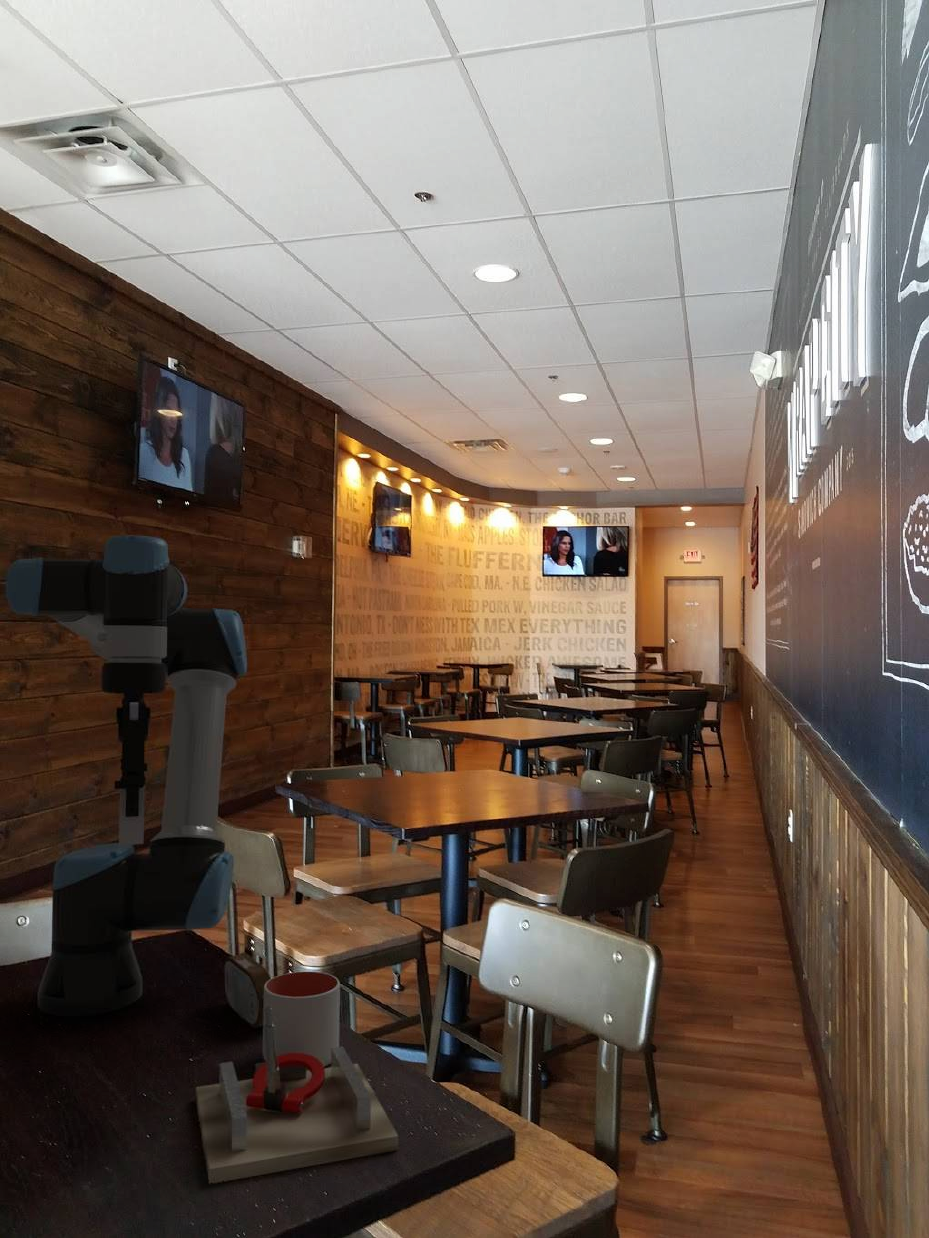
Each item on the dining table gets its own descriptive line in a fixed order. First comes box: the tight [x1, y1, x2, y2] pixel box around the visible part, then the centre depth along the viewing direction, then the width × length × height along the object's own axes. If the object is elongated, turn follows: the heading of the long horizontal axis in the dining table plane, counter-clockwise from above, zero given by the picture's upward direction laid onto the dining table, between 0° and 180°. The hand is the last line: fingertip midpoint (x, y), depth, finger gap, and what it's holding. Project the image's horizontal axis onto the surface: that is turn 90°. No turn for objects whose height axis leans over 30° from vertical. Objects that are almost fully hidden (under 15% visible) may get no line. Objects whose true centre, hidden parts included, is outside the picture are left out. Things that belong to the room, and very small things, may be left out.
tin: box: [223, 952, 272, 1029], centre depth 138 cm, size 15×3×8 cm, turn 34°
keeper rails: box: [218, 1045, 371, 1152], centre depth 108 cm, size 16×15×4 cm
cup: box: [262, 971, 341, 1071], centre depth 124 cm, size 10×10×10 cm
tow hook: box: [246, 1006, 325, 1113], centre depth 110 cm, size 8×13×9 cm
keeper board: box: [195, 1063, 399, 1185], centre depth 107 cm, size 19×20×2 cm
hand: (130, 833), depth 115 cm, fingers open, 13 cm apart
